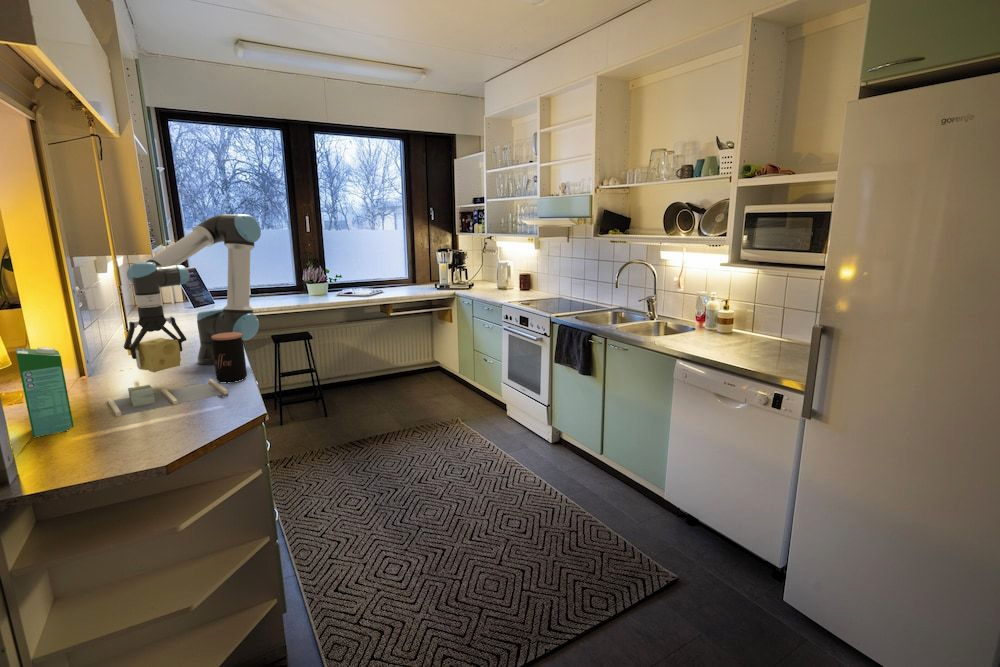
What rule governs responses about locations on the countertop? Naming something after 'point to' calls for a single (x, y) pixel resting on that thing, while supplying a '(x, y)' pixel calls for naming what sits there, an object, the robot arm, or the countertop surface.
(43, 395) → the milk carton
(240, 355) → the coffee jar
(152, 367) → the cheese
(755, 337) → the countertop surface
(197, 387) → the slot board
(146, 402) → the sage block
